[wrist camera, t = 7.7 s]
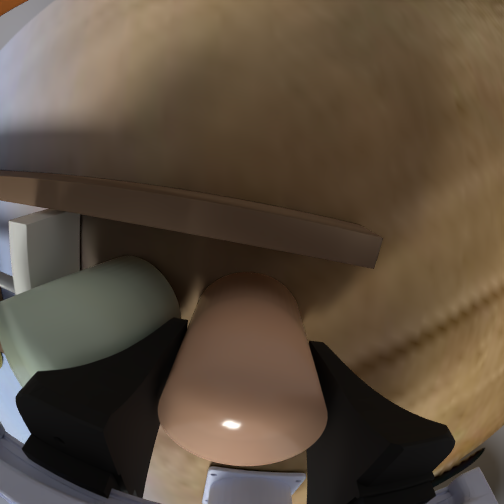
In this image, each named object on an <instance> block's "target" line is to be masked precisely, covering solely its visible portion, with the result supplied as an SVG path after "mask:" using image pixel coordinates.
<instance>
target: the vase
mask: <svg viewBox="0 0 504 504" xmlns="http://www.w3.org/2000/svg"><path fill="white" fill-rule="evenodd" d="M2 364H3V360H2V355H1V351H0V368H1V367H2Z"/></svg>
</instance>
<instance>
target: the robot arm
mask: <svg viewBox="0 0 504 504" xmlns="http://www.w3.org/2000/svg"><path fill="white" fill-rule="evenodd" d="M187 324H188V320H184V319H180V318H175V317H173V318H171V319H170V320H169V321H167V322H166V323H165V324H163V325H162V326H161V327H159V328H158V329H157V330H155V331H154V332H152V333H151V334H149V335H148V336H147V337H145V338H144V339H142V340H140V341H139V342H137V343H135V344H134V345H132V346H130V347H129V348H127V349H125V350H123V351H121V352H119V353H116V354H114V355H112V356H109V357H107V358H104V359H101V360H98V361H95V362H92V363H89V364H85V365H81V366H76V367H71V368H65V369H58V370H47V371H37V372H36V373H35V374H34V375H33V376H32V377H31V379H30V380H29V381H28V382H27V383H26V384H25V385H24V387H23V388H22V389H21V390H20V391H19V393H18V394H17V396H16V405H17V408H18V410H19V413H20V415H21V416H22V418H23V420H24V422H25V424H26V426H27V427H28V429H29V431H30V433H31V435H30V437H29V438H28V440H27V441H26V443H25V444H23V443H22V442H20V441H19V440H17V439H16V438H14V437H13V436H11V435H10V434H8V433H7V432H6V431H5V429H4V427H3V425H2V424H1V422H0V497H2V498H3V499H4V500H6V501H7V502H8V503H10V504H160V503H157V502H153V501H149V500H146V499H142V498H143V493H144V488H145V482H146V478H147V473H148V469H149V464H150V460H151V456H152V452H153V448H154V444H155V440H156V436H157V433H158V429H159V426H160V421H159V417H158V404H159V400H160V397H161V395H162V392H163V389H164V387H165V384H166V381H167V379H168V376H169V374H170V371H171V368H172V366H173V363H174V361H175V358H176V356H177V353H178V351H179V348H180V346H181V343H182V340H183V338H184V335H185V333H186V330H187ZM309 346H310V350H311V353H312V357H313V361H314V364H315V368H316V371H317V375H318V379H319V382H320V386H321V390H322V393H323V397H324V401H325V405H326V408H327V416H328V419H327V424H326V427H325V429H324V431H323V433H322V434H321V436H320V437H319V439H318V440H317V441H316V442H315V443H314V444H313V445H311V446H310V447H309V448H308V449H306V450H307V504H498V503H497V501H496V498H495V497H494V495H493V493H492V491H491V489H490V487H489V485H488V483H487V481H486V479H485V477H484V475H483V473H482V472H481V470H480V468H479V467H477V468H475V469H472V470H470V471H468V472H466V473H464V474H462V475H460V476H459V477H457V478H456V479H455V480H453V481H452V482H451V483H450V484H449V485H448V486H447V487H444V488H442V489H439V490H437V491H434V489H433V486H432V484H431V482H430V481H432V480H433V479H434V475H433V472H432V471H433V470H434V469H435V468H436V467H437V466H438V465H439V464H440V463H441V462H442V461H443V460H444V459H445V458H446V457H447V456H448V455H449V454H450V452H451V451H452V449H453V448H454V445H455V440H454V438H453V436H452V434H451V432H450V431H449V429H448V427H447V426H446V425H444V424H441V423H437V422H434V421H431V420H428V419H425V418H423V417H420V416H418V415H416V414H413V413H411V412H409V411H407V410H405V409H403V408H401V407H399V406H398V405H396V404H394V403H392V402H391V401H389V400H387V399H386V398H384V397H383V396H382V395H380V394H379V393H377V392H376V391H375V390H373V389H372V388H371V387H369V386H368V385H367V384H366V383H365V382H363V381H362V380H361V379H360V378H359V377H358V376H357V375H355V374H354V373H353V372H352V371H351V370H350V369H349V368H348V367H347V366H346V365H345V364H344V363H343V362H342V361H341V360H340V359H339V358H338V357H337V356H336V355H335V354H334V352H333V351H332V350H331V349H330V348H329V347H328V346H327V345H326V344H324V343H323V342H316V341H309ZM305 479H306V474H304V473H278V472H260V471H248V470H238V469H230V468H222V467H216V466H212V467H209V469H208V474H207V479H206V484H205V489H204V494H203V499H202V503H203V504H292V497H291V495H292V494H293V493H294V492H295V491H296V490H297V488H298V487H299V486H300V485H301V484H302V482H303V481H304V480H305Z"/></svg>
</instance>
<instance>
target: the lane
mask: <svg viewBox="0 0 504 504" xmlns="http://www.w3.org/2000/svg"><path fill="white" fill-rule="evenodd" d="M0 200H1V201H7V202H13V203H19V204H25V205H30V206H36V207H42V208H48V209H54V210H59V211H65V212H71V213H76V214H82V215H88V216H93V217H99V218H105V219H110V220H116V221H121V222H127V223H133V224H138V225H144V226H149V227H155V228H160V229H166V230H171V231H177V232H182V233H188V234H193V235H198V236H204V237H209V238H215V239H220V240H225V241H231V242H236V243H241V244H247V245H252V246H257V247H263V248H268V249H273V250H279V251H284V252H289V253H294V254H300V255H305V256H310V257H315V258H320V259H326V260H331V261H336V262H341V263H346V264H352V265H357V266H362V267H367V268H372V269H374V267H375V264H376V261H377V258H378V254H379V251H380V247H381V244H382V240H383V238H382V237H380V236H378V235H377V234H375V233H373V232H372V231H370V230H368V229H366V228H365V227H363V226H361V225H358V224H354V223H350V222H346V221H341V220H337V219H333V218H328V217H324V216H320V215H315V214H311V213H306V212H301V211H297V210H292V209H287V208H282V207H277V206H272V205H267V204H262V203H257V202H252V201H247V200H241V199H236V198H230V197H225V196H219V195H213V194H207V193H201V192H195V191H189V190H183V189H176V188H170V187H163V186H156V185H149V184H142V183H134V182H126V181H118V180H110V179H102V178H93V177H83V176H73V175H63V174H51V173H38V172H24V171H7V170H0ZM0 301H3V297H2V292H1V287H0ZM0 351H1V352H2V353H4V351H3V348H2V345H1V342H0Z"/></svg>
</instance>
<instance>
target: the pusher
mask: <svg viewBox="0 0 504 504" xmlns="http://www.w3.org/2000/svg"><path fill="white" fill-rule="evenodd" d="M9 241H10V255H11V265H12V274H13V277H12V276H10V275H7V274H5V273H3V272H0V287H2V288H4V289H6V290H9V291H11V292H13V293H15V294H16V295H18V294H20V293H23V292H25V291H28V290H30V289H33V288H35V287H38V286H41V285H43V284H46V283H49V282H51V281H54V280H57V279H59V278H62V277H65V276H67V275H70V274H73V273H75V272H78V271H80V253H79V243H80V214H76V213H71V212H65V211H59V210H54V209H46V210H43V211H39V212H36V213H32V214H29V215H26V216H22V217H19V218H16V219H13V220H10V221H9Z"/></svg>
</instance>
